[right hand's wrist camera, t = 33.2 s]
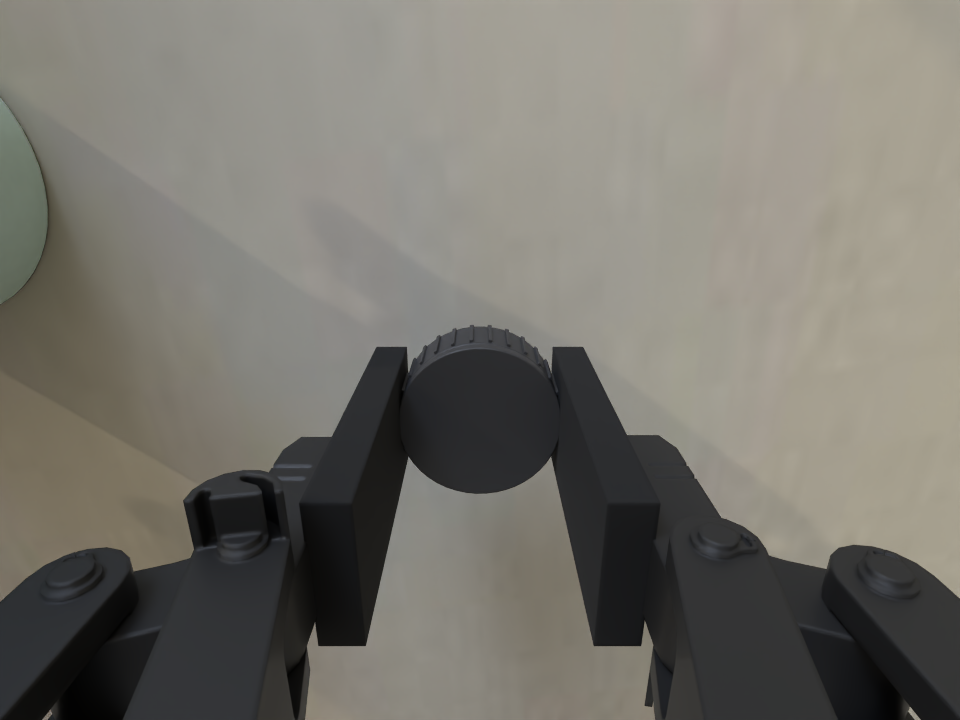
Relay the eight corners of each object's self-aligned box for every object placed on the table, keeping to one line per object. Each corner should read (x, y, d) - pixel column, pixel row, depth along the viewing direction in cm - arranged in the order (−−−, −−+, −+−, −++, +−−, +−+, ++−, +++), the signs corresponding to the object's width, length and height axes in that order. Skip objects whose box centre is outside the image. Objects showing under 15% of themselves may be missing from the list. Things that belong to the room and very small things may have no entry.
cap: (566, 446, 15) (576, 480, 13) (424, 473, 15) (419, 508, 14) (541, 309, 14) (548, 329, 12) (386, 341, 14) (375, 364, 12)
